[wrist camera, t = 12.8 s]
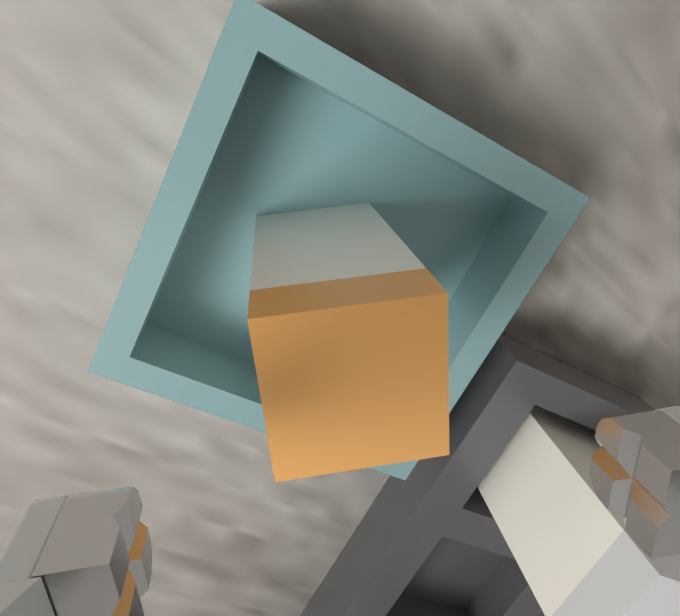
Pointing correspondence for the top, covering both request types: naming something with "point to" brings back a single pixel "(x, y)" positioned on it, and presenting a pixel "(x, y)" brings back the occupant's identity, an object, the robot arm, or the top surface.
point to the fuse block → (461, 501)
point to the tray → (313, 193)
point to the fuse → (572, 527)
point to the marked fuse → (346, 343)
